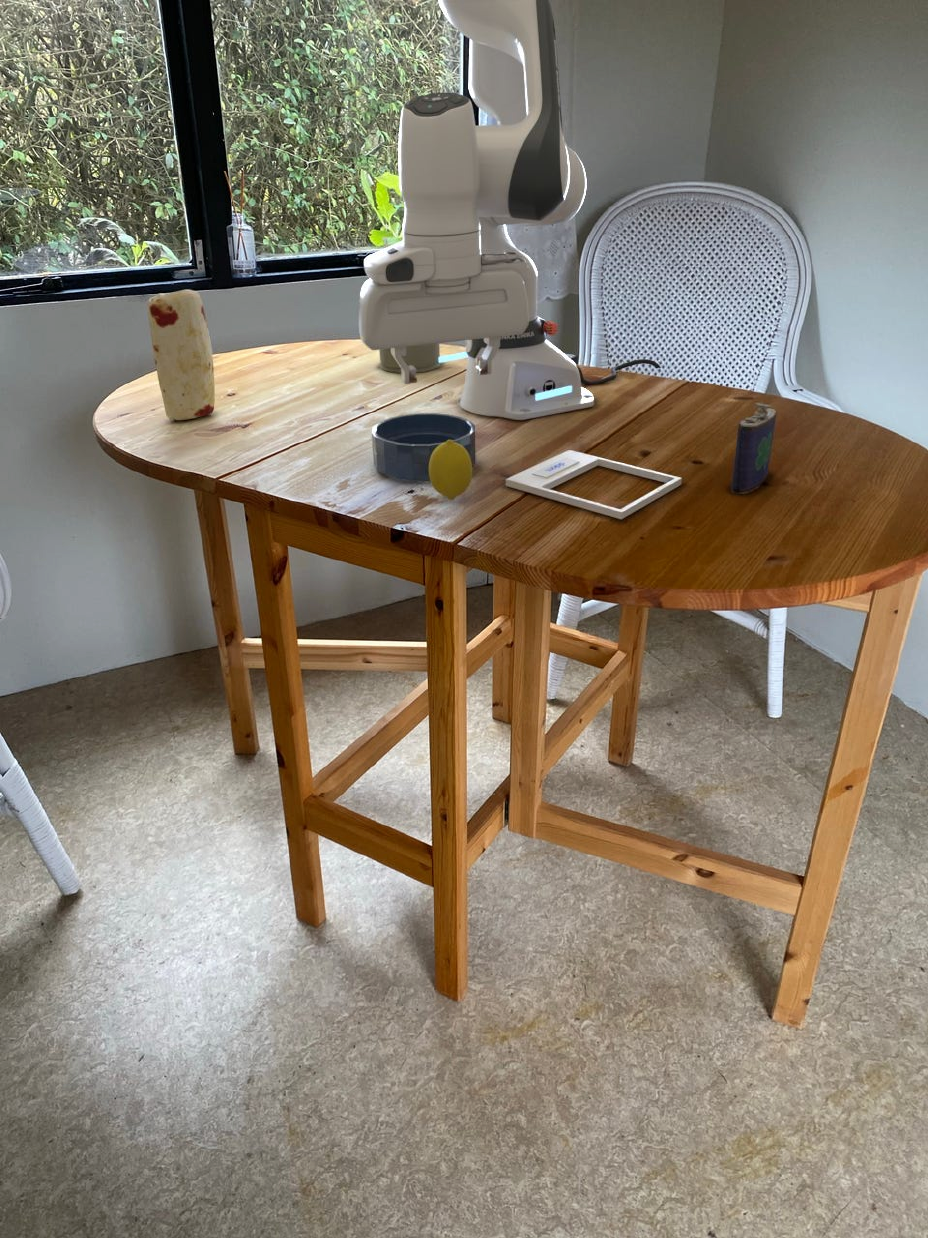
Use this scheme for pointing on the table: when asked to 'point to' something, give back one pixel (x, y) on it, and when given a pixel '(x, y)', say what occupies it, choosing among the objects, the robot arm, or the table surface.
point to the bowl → (417, 442)
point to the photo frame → (576, 463)
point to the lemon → (450, 469)
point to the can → (412, 358)
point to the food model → (182, 354)
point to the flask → (753, 450)
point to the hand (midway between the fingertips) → (447, 378)
